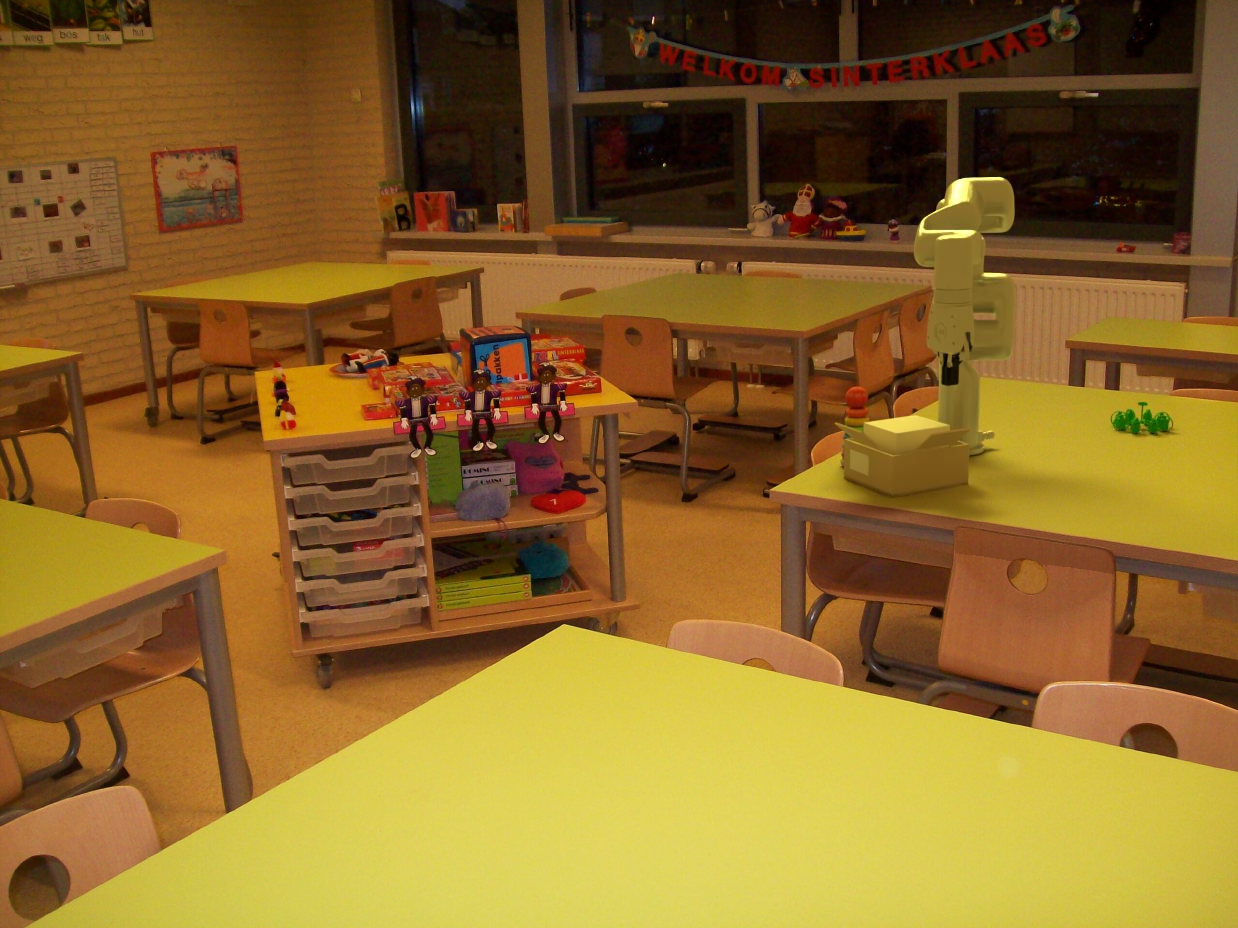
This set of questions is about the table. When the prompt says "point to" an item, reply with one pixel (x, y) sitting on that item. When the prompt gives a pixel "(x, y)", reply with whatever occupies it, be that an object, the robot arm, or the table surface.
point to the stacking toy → (855, 412)
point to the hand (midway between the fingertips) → (949, 384)
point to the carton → (905, 458)
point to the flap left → (943, 438)
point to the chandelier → (1152, 423)
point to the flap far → (858, 435)
